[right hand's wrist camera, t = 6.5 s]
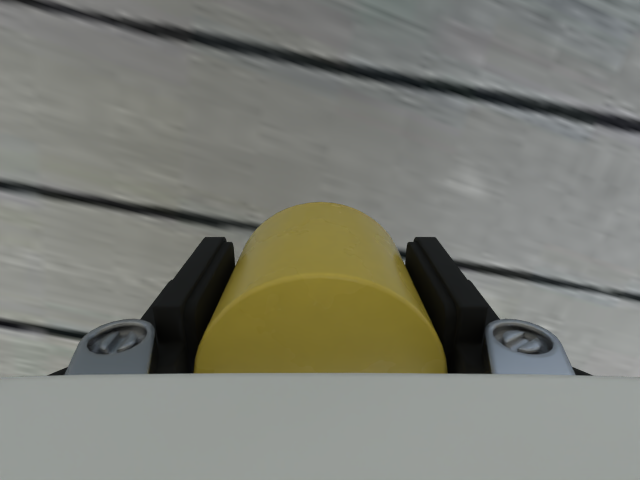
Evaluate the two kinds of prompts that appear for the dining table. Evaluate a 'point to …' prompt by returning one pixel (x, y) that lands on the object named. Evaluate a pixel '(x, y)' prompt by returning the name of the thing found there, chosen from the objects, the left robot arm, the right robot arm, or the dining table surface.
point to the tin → (320, 301)
